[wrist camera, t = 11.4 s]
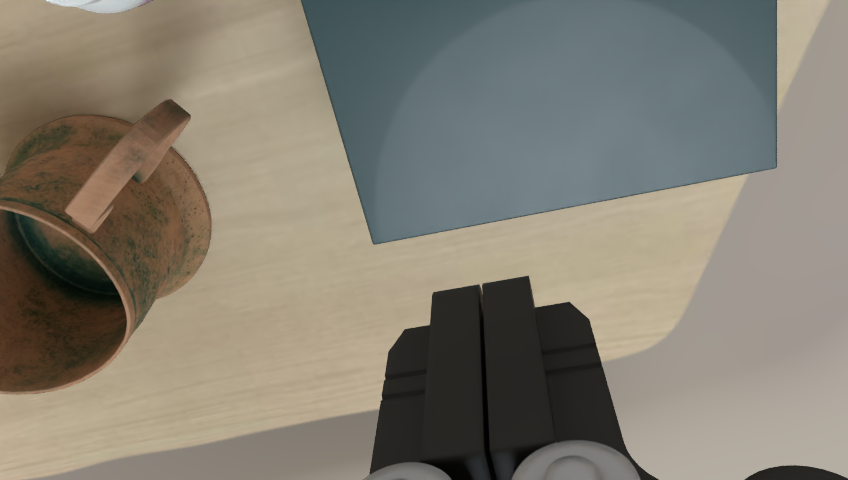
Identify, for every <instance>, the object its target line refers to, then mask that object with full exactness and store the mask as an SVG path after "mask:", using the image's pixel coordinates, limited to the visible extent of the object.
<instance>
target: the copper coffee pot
mask: <svg viewBox="0 0 848 480" xmlns="http://www.w3.org/2000/svg"><path fill="white" fill-rule="evenodd" d="M190 119H191V116H190V114H189V113H188V112H186V111H185V110H184V109H183V108H181V107H180V106H179V105H178V104H176V103H175V102H174V101H173V100H171V99H169V100H165V101H164V102H162V103H160V104H159V105H158V106H156V107H155V108H154V109H152V110H151V111H150V112H149V113H147V114H146V115H145V116H144V117H143V118H142V119H140V120H139V121H138V122H137V123H136V124H135V125H133V124H130V123H128V122H125V121H121V120H118V119H114V118H110V117H104V116H94V115H80V116H71V117H66V118H61V119H58V120H55V121H52V122H50V123H48V124H46V125H44V126H42V127H40V128H38V129H37V130H35V131H33V132H32V133H31V134H29V135H28V136H27V137H26V138H25V139H23V141H22V142H21V143H20V144H19V145H18V146H17V147H16V149H15V150H14V152H13V153H12V155H11V157H10V159H9V161H8V164H7V167H6V170H5V174H4V176H3V177H1V178H0V394H14V395H20V394H37V393H45V392H51V391H56V390H60V389H63V388H66V387H69V386H72V385H75V384H77V383H80V382H82V381H84V380H86V379H88V378H89V377H91V376H93V375H95V374H96V373H98V372H99V371H101V370H102V369H103V368H105V367H106V366H107V365H108V364H110V363H111V362H112V361H113V360H114V359H115V358H116V357H117V355H118V354H119V353H120V352H121V350H122V349H123V347H124V346H125V344H126V343H127V341H128V340H129V338H130V336H131V335H132V334H133V332H134V331H135V330H136V329H137V327H138V326H139V325H140V324H141V322H142V321H143V319H144V318H145V316H146V314H147V312H148V311H149V309H150V308H151V306H152V304H153V303H154V301H155V300H156V299H159V298H161V297H164V296H166V295H169V294H171V293H173V292H174V291H176V290H178V289H179V288H181V287H182V286H183V285H185V284H186V283H187V282H188V281H189V280H190V279H191V278H192V277H193V276H194V274H195V273H196V272H197V270H198V269H199V267H200V266H201V264H202V262H203V260H204V258H205V256H206V254H207V251H208V248H209V244H210V239H211V216H210V210H209V206H208V202H207V199H206V196H205V194H204V191H203V189H202V187H201V185H200V183H199V181H198V179H197V178H196V176H195V175H194V173H193V172H192V170H191V169H190V167H189V166H188V165H187V164H186V162H185V161H184V160H183V159H182V158H181V157H180V156H179V155H178V154H177V153H176V152H175V151H174V150H173V149H172V148H171V145H172V144H173V143H174V141H175V140H176V139H177V137H178V136H179V135H180V133H181V132H182V131H183V129H184V128H185V126H186V125H187V124H188V122H189V120H190Z"/></svg>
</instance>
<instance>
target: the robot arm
mask: <svg viewBox="0 0 848 480" xmlns="http://www.w3.org/2000/svg"><path fill="white" fill-rule="evenodd" d="M482 290H483V294H482V291H481V288H480V285H473V286H467V287H462V288H456V289H450V290H444V291H438V292H434V293H433V295H432V306H431V320H430V325H428V326H422V327H416V328H410V329H405V330H404V331H403V333H402V334H401V335H400V337H399V338H398V340H397V341H396V342H395V344H394V345H393V347H392V348H391V349H390V351H389V353H388V359H387V366H386V372H385V378H386V380H384V385H383V391H382V401H381V404H380V411H379V417H378V423H377V430H376V436H375V443H374V449H373V455H372V462H371V468H370V475H369V476H367V477H366V478H365V479H363V480H658V479H656V478H655V477H653V476H652V475H650V474H648V473H647V472H646V471H645V470H643V469H642V468H641V467H639V465H638V464H637V463H636V462H635V461H634V460H633V459H632V457H631V456H630V454H629V453H628V451H627V449H626V446H625V444H624V441H623V438H622V434H621V431H620V427H619V424H618V420H617V416H616V413H615V410H614V406H613V402H612V399H611V395H610V392H609V388H608V385H607V381H606V377H605V374H604V370H603V367H602V364H601V360H600V356H599V353H598V349H597V347H596V342H595V339H594V335H593V332H592V328H591V324H590V321H589V319H588V318H587V317H586V316H585V315H584V314H582V313H581V312H580V311H579V310H578V309H577V308H576V307H574V306H573V305H572V304H571V303H570V302H566V303H560V304H554V305H548V306H542V307H536V308H535V305H534V300H533V294H532V289H531V284H530V279H529V276H525V277H519V278H513V279H507V280H501V281H495V282H490V283H484V284H483V285H482ZM745 480H848V479H847V478H845V477H843V476H841V475H838V474H836V473H833V472H830V471H826V470H823V469H818V468H813V467H807V466H779V467H773V468H768V469H765V470H762V471H759V472H757V473H755V474H753V475H751V476H749V477H748V478H746V479H745Z"/></svg>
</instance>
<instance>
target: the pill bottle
mask: <svg viewBox="0 0 848 480" xmlns="http://www.w3.org/2000/svg"><path fill="white" fill-rule="evenodd" d="M45 1H47V2H50V3H52V4H56V5H60V6H67V7H78V8H81V9H84V10H87V11H90V12H95V13H103V14H111V13H120V12H124V11H127V10H130V9H133V8H135V7H138V6H142V5H144V4H146V3H148V2H151V1H153V0H45Z"/></svg>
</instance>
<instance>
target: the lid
mask: <svg viewBox="0 0 848 480" xmlns="http://www.w3.org/2000/svg"><path fill="white" fill-rule="evenodd" d="M301 2H302V6H303V9H304V13H305V16H306V19H307V23H308V26H309V29H310V33H311V36H312V40H313V43H314V46H315V50H316V53H317V56H318V60H319V63H320V67H321V70H322V73H323V77H324V80H325V83H326V87H327V90H328V94H329V97H330V100H331V104H332V107H333V110H334V114H335V117H336V121H337V124H338V127H339V131H340V134H341V138H342V141H343V144H344V148H345V151H346V154H347V158H348V161H349V165H350V168H351V171H352V175H353V178H354V181H355V185H356V188H357V192H358V195H359V198H360V202H361V205H362V208H363V212H364V215H365V219H366V222H367V225H368V229H369V232H370V235H371V239H372V242H373V244H374V245H375V244H380V243H386V242H391V241H396V240H401V239H407V238H412V237H417V236H422V235H428V234H433V233H438V232H443V231H449V230H454V229H459V228H464V227H470V226H475V225H480V224H485V223H491V222H496V221H501V220H506V219H512V218H517V217H522V216H527V215H533V214H538V213H543V212H548V211H554V210H559V209H564V208H569V207H575V206H580V205H585V204H590V203H596V202H601V201H606V200H612V199H617V198H622V197H627V196H633V195H638V194H643V193H648V192H654V191H659V190H664V189H669V188H675V187H680V186H685V185H690V184H696V183H701V182H706V181H711V180H717V179H722V178H727V177H732V176H738V175H743V174H748V173H753V172H759V171H764V170H769V169H774V168H776V167H777V0H301Z"/></svg>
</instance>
